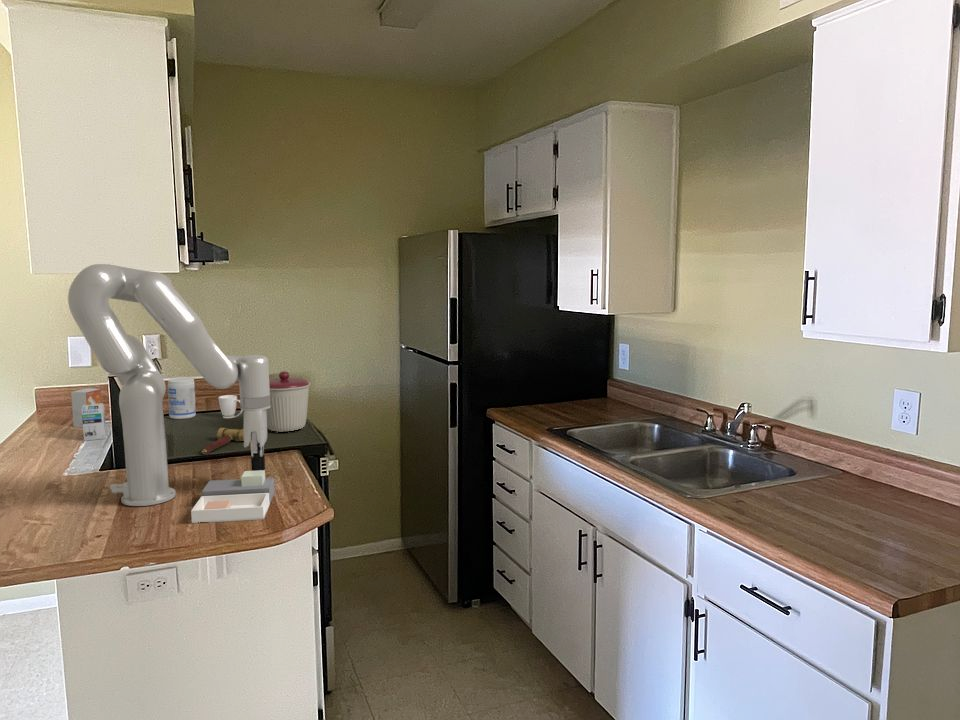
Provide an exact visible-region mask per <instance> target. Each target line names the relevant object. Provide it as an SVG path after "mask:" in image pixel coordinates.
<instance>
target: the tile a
mask: <svg viewBox="0 0 960 720" xmlns="http://www.w3.org/2000/svg"><path fill="white" fill-rule="evenodd" d="M220 508H230V501H216V502H208V503H207V504H206V506H205V508H204V509H220Z"/></svg>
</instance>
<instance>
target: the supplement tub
mask: <svg viewBox="0 0 960 720" xmlns="http://www.w3.org/2000/svg"><path fill="white" fill-rule="evenodd" d="M195 389H196V387H195V379H194V378H192V377H176V378H171V379H168V381H167V396H168V416H169V418H170V419H173V420H174V419H175V420H182V419H183V420H184V419H185V420H186V419H191V418H194V417H195V416H196V415H197V413H196V412H197V411H196V390H195Z"/></svg>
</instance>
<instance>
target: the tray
mask: <svg viewBox="0 0 960 720" xmlns="http://www.w3.org/2000/svg"><path fill="white" fill-rule="evenodd" d="M216 501H230V508H220V509H204V508H205V506H206V504H207V503H208V502H216ZM195 503H196V504H195V505H194V506H193V508H192V509H191V511H190V512H191V513H190V515H191V524H201V523H200V522H209V523H222V522H223V523H224V522H242V521H244V522H245V521H258V520H265V517H266V515H267V513H268V511H269V507H270V505H271V503H270V500H269V493H257V494H238V495H218V496H202V495H201V496H200V498H199V499H198V501H197V502H195ZM198 522H199V523H198Z"/></svg>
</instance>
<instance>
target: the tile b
mask: <svg viewBox="0 0 960 720" xmlns="http://www.w3.org/2000/svg"><path fill="white" fill-rule="evenodd" d="M265 478H266V469H265V470H258V471H252V470H244V471H243V473H242V474H241V478H240V479H241V481H242V487H243V486H262V485H263V483H264V481H265Z"/></svg>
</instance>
